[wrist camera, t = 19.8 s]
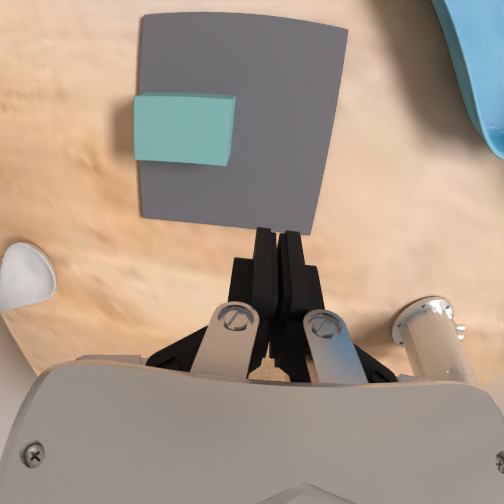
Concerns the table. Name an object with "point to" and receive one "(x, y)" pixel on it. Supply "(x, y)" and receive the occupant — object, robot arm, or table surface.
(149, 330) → the table surface
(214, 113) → the teal rectangular block
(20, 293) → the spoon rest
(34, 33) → the table surface
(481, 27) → the casserole dish
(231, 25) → the mat
